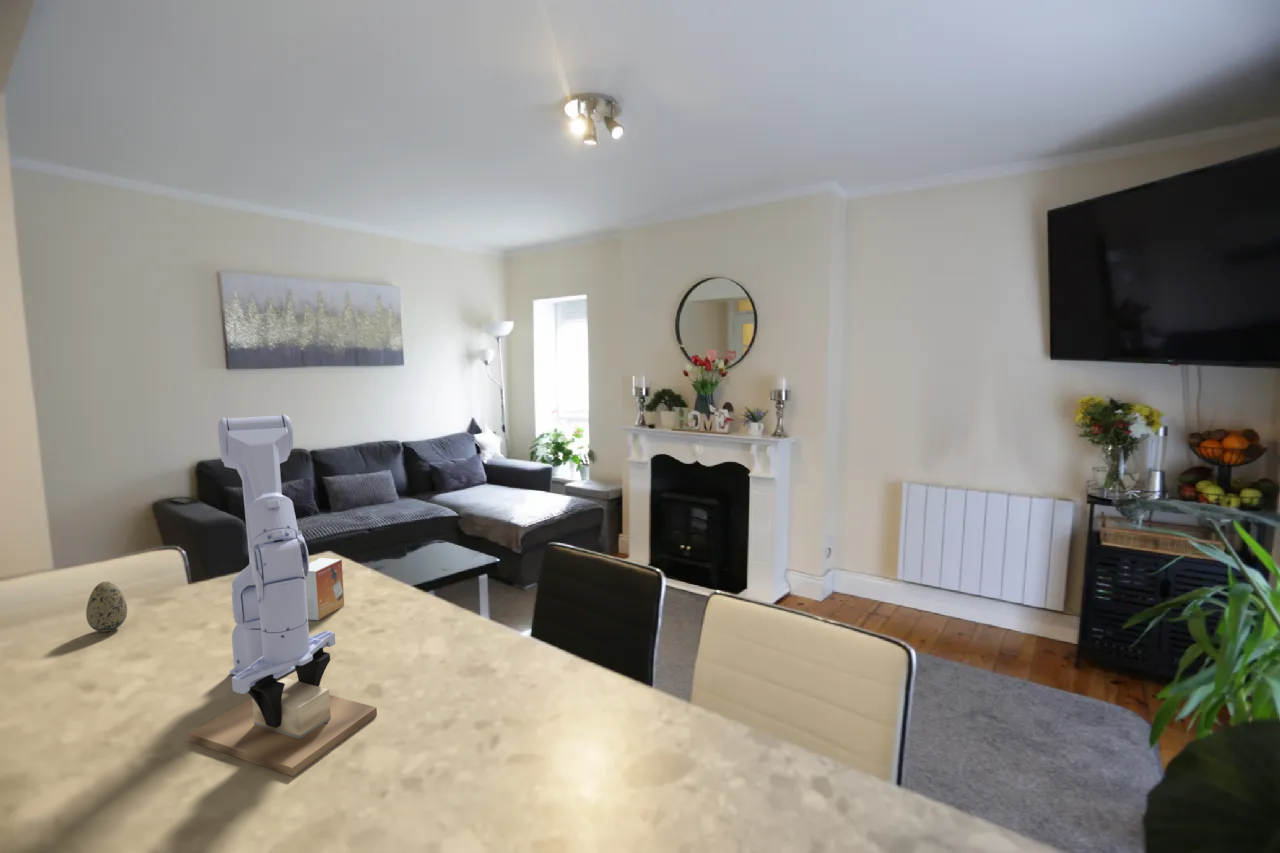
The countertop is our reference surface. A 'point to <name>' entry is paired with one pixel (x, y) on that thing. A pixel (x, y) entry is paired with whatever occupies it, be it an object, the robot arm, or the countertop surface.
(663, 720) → the countertop surface
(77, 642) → the countertop surface
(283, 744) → the oak board
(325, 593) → the small box
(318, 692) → the block
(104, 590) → the decorative egg
